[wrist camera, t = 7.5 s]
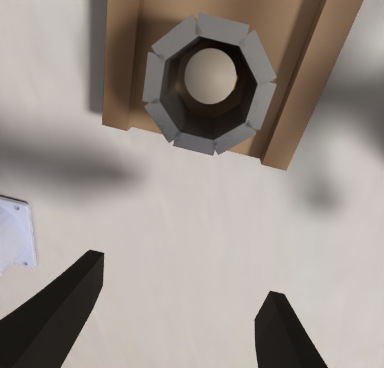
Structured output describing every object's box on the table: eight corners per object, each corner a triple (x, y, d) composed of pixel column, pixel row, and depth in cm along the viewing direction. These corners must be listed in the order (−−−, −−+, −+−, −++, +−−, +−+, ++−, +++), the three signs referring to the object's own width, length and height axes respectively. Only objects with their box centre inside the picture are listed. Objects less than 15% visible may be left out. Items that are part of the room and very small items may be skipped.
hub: (158, 115, 16) (138, 137, 12) (174, 15, 13) (154, 0, 9) (241, 136, 16) (247, 164, 12) (273, 40, 13) (294, 36, 9)
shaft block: (115, 116, 18) (74, 141, 13) (126, -49, 13) (71, -106, 8) (279, 157, 18) (300, 197, 13) (343, 7, 13) (411, -18, 9)
